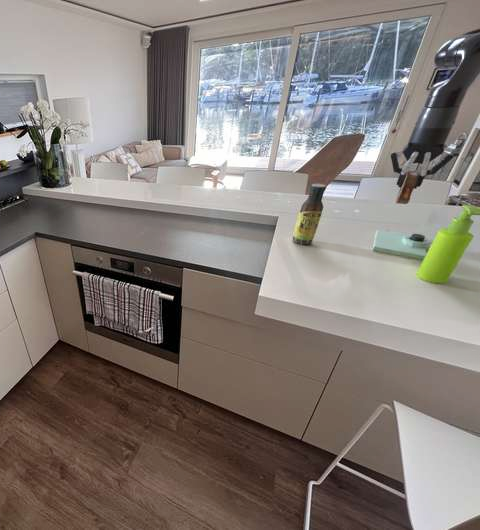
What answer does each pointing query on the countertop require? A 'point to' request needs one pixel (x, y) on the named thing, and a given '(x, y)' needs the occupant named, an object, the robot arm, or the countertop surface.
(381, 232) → the scale
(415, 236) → the tare button
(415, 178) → the tin
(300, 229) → the sauce bottle
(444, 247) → the soap dispenser
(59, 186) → the countertop surface
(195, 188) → the countertop surface
